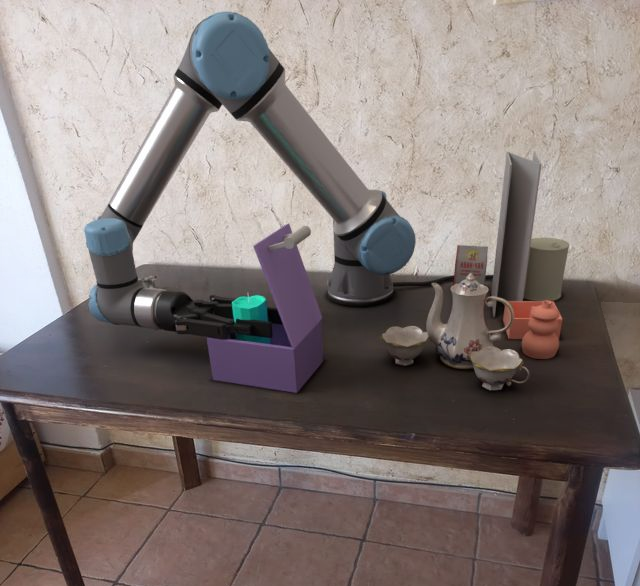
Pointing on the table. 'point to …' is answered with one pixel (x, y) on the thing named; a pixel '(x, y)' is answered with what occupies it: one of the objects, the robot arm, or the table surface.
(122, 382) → the table surface
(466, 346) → the chinaware
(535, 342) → the pottery
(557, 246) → the can
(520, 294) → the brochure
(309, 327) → the lid
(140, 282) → the egg carton
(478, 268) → the small printed carton
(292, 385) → the box
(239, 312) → the candle
